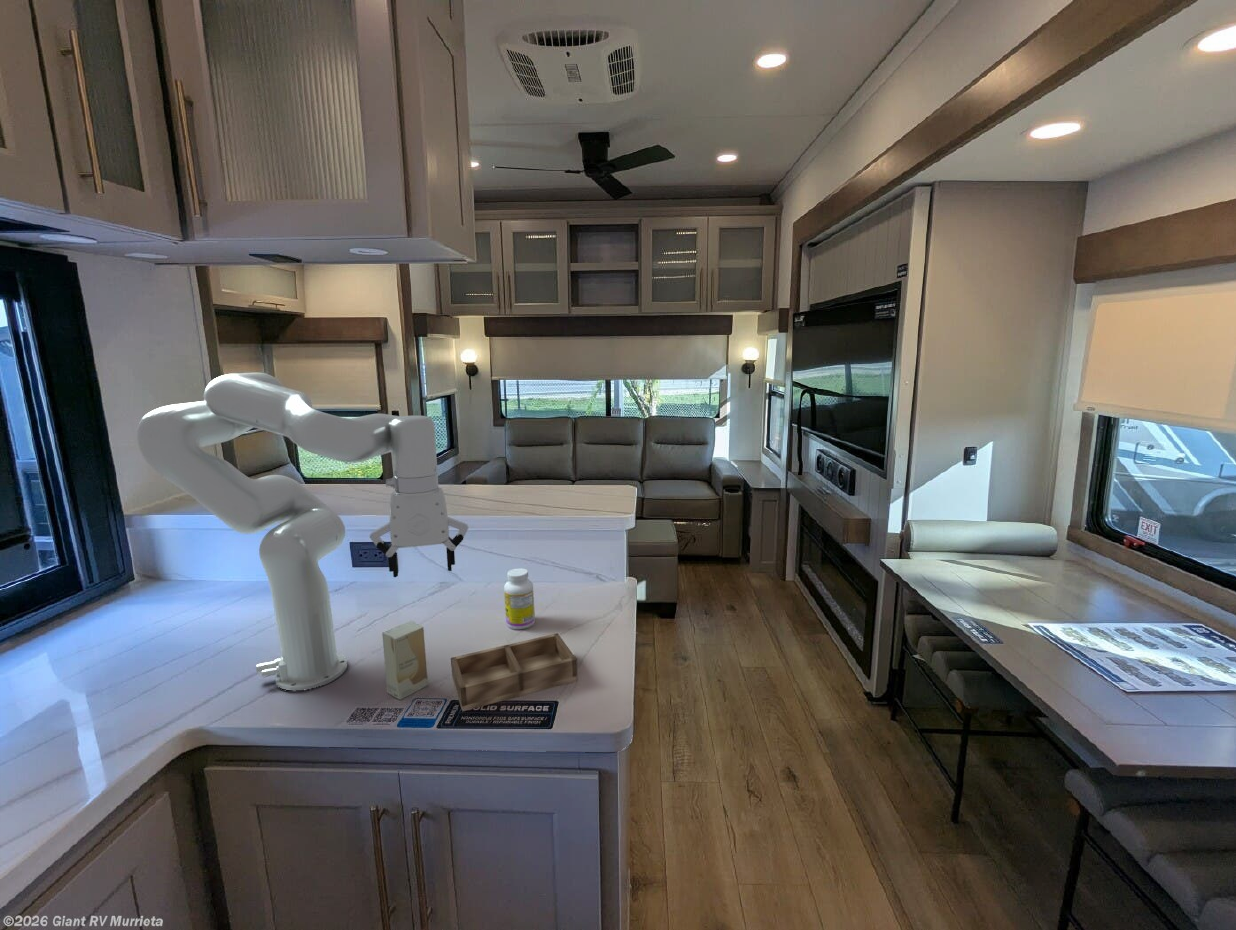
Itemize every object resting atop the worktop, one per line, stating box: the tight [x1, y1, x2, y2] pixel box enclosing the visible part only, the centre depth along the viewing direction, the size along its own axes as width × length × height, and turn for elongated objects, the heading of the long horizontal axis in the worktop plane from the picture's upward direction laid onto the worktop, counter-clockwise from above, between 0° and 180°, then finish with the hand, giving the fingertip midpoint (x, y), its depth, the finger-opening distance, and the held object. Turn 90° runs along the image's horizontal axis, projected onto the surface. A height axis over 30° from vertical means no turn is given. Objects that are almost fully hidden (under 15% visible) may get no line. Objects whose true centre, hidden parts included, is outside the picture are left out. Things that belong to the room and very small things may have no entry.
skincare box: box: [381, 620, 429, 700], centre depth 106 cm, size 6×4×12 cm
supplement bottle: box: [503, 568, 536, 630], centre depth 131 cm, size 7×7×13 cm
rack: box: [450, 633, 578, 712], centre depth 109 cm, size 22×11×4 cm, turn 114°
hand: (423, 571), depth 107 cm, fingers open, 9 cm apart
